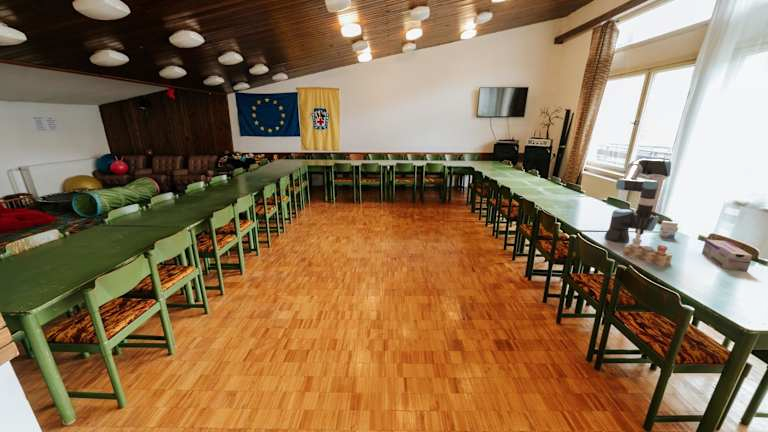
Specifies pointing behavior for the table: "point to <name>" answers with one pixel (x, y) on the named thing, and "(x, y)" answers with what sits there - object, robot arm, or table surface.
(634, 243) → the grey plunger near
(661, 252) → the terracotta plunger
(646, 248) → the grey plunger middle
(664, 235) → the ink box
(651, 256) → the press block
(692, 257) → the table surface
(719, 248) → the surgical sutures box
